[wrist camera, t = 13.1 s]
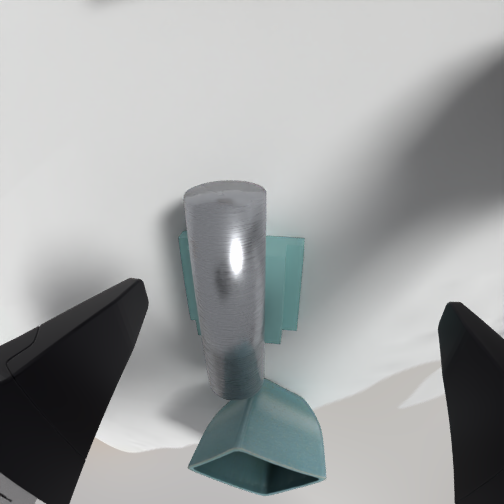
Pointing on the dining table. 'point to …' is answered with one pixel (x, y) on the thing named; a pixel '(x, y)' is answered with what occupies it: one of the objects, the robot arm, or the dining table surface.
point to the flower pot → (263, 443)
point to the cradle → (276, 284)
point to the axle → (229, 281)
